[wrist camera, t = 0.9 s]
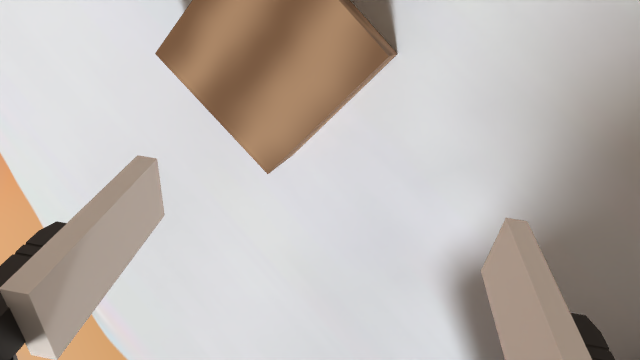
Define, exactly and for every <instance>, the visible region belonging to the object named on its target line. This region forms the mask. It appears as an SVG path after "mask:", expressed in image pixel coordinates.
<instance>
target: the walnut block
mask: <svg viewBox="0 0 640 360" xmlns="http://www.w3.org/2000/svg"><path fill="white" fill-rule="evenodd" d="M155 54H156V55H157V56H158V57H159V58H160V59H161V60H162V61H163V63H164V64H165V65H166V66H167V67H168V68H169V69H170V70H171V71H172V72H173V73H174V74H175V75H176V76H177V78H178V79H179V80H180V81H181V82H182V83H183V84H184V85H185V86H186V87H187V88H188V89H189V90H190V91H191V93H192V94H193V95H194V96H195V97H196V98H197V99H198V100H199V101H200V102H201V103H202V104H203V105H204V106H205V108H206V109H207V110H208V111H209V112H210V113H211V114H212V115H213V116H214V117H215V118H216V119H217V120H218V121H219V122H220V124H221V125H222V126H223V127H224V128H225V129H226V130H227V131H228V132H229V133H230V134H231V135H232V136H233V137H234V139H235V140H236V141H237V142H238V143H239V144H240V145H241V146H242V147H243V148H244V149H245V150H246V151H247V152H248V154H249V155H250V156H251V157H252V158H253V159H254V160H255V161H256V162H257V163H258V164H259V165H260V166H261V167H262V169H263V170H264V171H265V172H266V173H267V174H269V173H270V172H271V171H273V170H274V169H275V168H276V167H278V166H279V165H280V164H282V163H283V162H284V161H286V160H287V159H288V158H290V157H291V156H292V155H293V154H294V153H295V152H296V151H297V150H298V149H300V148H301V147H302V146H303V145H304V144H305V143H306V142H307V141H308V140H309V139H310V138H311V137H312V136H313V135H314V134H315V133H316V132H317V131H318V130H319V129H320V128H321V127H322V126H323V125H324V124H325V123H326V122H328V121H329V120H330V119H331V118H332V117H333V116H334V115H335V114H336V113H337V112H338V111H339V110H340V109H341V108H342V107H343V106H344V105H345V104H346V103H347V102H348V101H349V100H350V99H351V98H352V97H353V96H355V95H356V94H357V93H358V92H359V91H360V90H361V89H362V88H363V87H364V86H365V85H366V84H367V83H368V82H369V81H370V80H371V79H372V78H373V77H374V76H375V75H376V74H377V73H378V72H379V71H380V70H382V69H383V68H384V67H385V66H386V65H387V64H388V63H389V62H390V61H391V60H392V59H393V58H394V57H395V56H396V55H397V53H396V51H395V50H394V49H393V48H392V47H391V46H390V45H389V44H388V43H387V41H386V40H385V39H384V38H383V37H382V36H381V35H380V34H379V33H378V31H377V30H376V29H375V28H374V27H373V26H372V25H371V24H370V22H369V21H368V20H367V19H366V18H365V17H364V16H363V15H362V14H361V12H360V11H359V10H358V9H357V8H356V7H355V6H354V5H353V3H352V2H351V1H350V0H192V2H191V3H190V5H189V6H188V7H187V9H186V10H185V12H184V13H183V15H182V16H181V17H180V19H179V20H178V22H177V23H176V25H175V26H174V27H173V29H172V30H171V32H170V33H169V35H168V36H167V37H166V39H165V40H164V42H163V43H162V45H161V46H160V47H159V49H158V50H157V52H156V53H155Z"/></svg>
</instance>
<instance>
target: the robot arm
mask: <svg viewBox="0 0 640 360" xmlns="http://www.w3.org/2000/svg"><path fill="white" fill-rule="evenodd" d="M163 217H164V208H163V200H162V192H161V185H160V177H159V170H158V162H157V159H156V158H150V157H144V156H137V157H135V158H134V159H133V160H132V161H131V162H130V163H129V164H128V165H127V166H126V167H125V168H124V169H123V170H122V171H121V172H120V173H119V174H118V175H117V176H116V177H115V178H114V179H113V180H112V181H110V182H109V183H108V184H107V185H106V186H105V187H104V188H103V189H102V190H101V191H100V192H99V193H98V194H97V195H96V196H95V197H94V198H93V199H92V200H91V201H90V202H89V203H88V204H87V205H86V206H84V207H83V208H82V209H81V210H80V211H79V212H78V213H77V214H76V215H75V216H74V217H73V218H72V219H71V220H70V221H69V222H68V223H62V222H55V223H53V224H51V225H49V226H47V227H45V228H43V229H41V230H39V231H38V232H37V233H36V234H35V235H34V236H33V237H31V238H30V239H29V240H28V241H27V242H26V245H23V246H21V247H20V248H19V249H18V250H17V251H16V253H15V255H12V256H10V257H9V258H8V259H7V260H6V261H5V262H4V263H3V264H2V265H1V266H0V360H18V359H17V356H16V353H17V351H18V350H19V349H20V348H21V347H22V346H23V344H24V343H26V345H27V347H28V350H29V352H30V354H31V355H34V356H39V357H44V358H49V359H54V360H57V359H58V358H59V357H60V356H61V354H62V353H63V351H64V350H65V349H66V347H67V346H68V345H69V343H70V342H71V341H72V339H73V338H74V337H75V335H76V334H77V332H78V331H79V330H80V328H81V327H82V326H83V324H84V323H85V322H86V320H87V319H88V318H89V316H90V315H91V314H92V312H93V311H94V310H95V308H96V307H97V306H98V304H99V303H100V302H101V300H102V299H103V298H104V296H105V295H106V293H107V292H108V291H109V289H110V288H111V287H112V285H113V284H114V283H115V281H116V280H117V279H118V277H119V276H120V275H121V273H122V272H123V271H124V269H125V268H126V266H127V265H128V264H129V262H130V261H131V260H132V258H133V257H134V256H135V254H136V253H137V252H138V250H139V249H140V248H141V246H142V245H143V244H144V242H145V241H146V240H147V238H148V237H149V235H150V234H151V233H152V231H153V230H154V229H155V227H156V226H157V225H158V223H159V222H160V221H161V219H162V218H163ZM481 274H482V277H483V281H484V285H485V288H486V292H487V296H488V299H489V303H490V307H491V310H492V314H493V318H494V321H495V325H496V329H497V333H498V336H499V340H500V344H501V347H502V351H503V355H504V358H505V360H615V359H614V357H613V355H612V353H611V352H610V351H609V347H608V345H607V343H606V342H605V340H604V338H603V336H602V334H601V332H600V331H599V330H598V329H597V327H596V326H595V325H594V324H593V323H592V322H591V321H590V320H589V319H588V318H587V317H586V316H585V315H579V314H573V313H570V311H569V309H568V307H567V305H566V303H565V301H564V299H563V296H562V294H561V292H560V290H559V288H558V286H557V284H556V282H555V279H554V277H553V275H552V273H551V271H550V269H549V267H548V264H547V262H546V260H545V258H544V256H543V254H542V252H541V250H540V247H539V245H538V243H537V241H536V239H535V237H534V235H533V232H532V230H531V228H530V226H529V224H528V222H527V221H522V220H516V219H510V218H506V219H505V221H504V223H503V225H502V227H501V229H500V231H499V234H498V236H497V238H496V240H495V242H494V244H493V246H492V248H491V251H490V253H489V255H488V257H487V259H486V261H485V263H484V265H483V267H482V270H481Z"/></svg>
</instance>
